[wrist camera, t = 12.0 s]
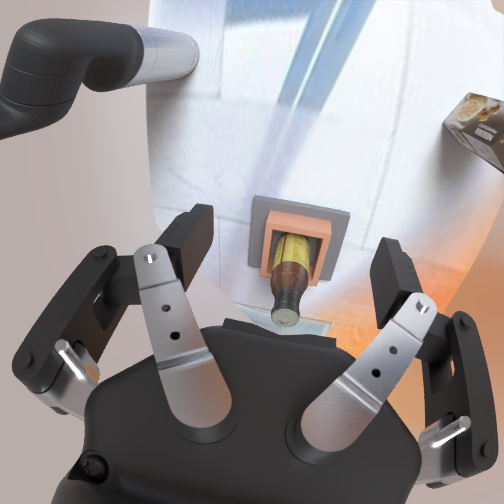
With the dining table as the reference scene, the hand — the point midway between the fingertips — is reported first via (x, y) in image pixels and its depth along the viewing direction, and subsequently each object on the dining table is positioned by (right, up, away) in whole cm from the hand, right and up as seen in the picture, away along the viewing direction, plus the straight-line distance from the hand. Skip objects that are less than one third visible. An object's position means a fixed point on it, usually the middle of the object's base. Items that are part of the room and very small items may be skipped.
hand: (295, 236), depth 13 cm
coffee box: (+35, +23, +20) cm, 47 cm away
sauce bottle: (+6, +1, +42) cm, 42 cm away
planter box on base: (+7, +2, +43) cm, 43 cm away
